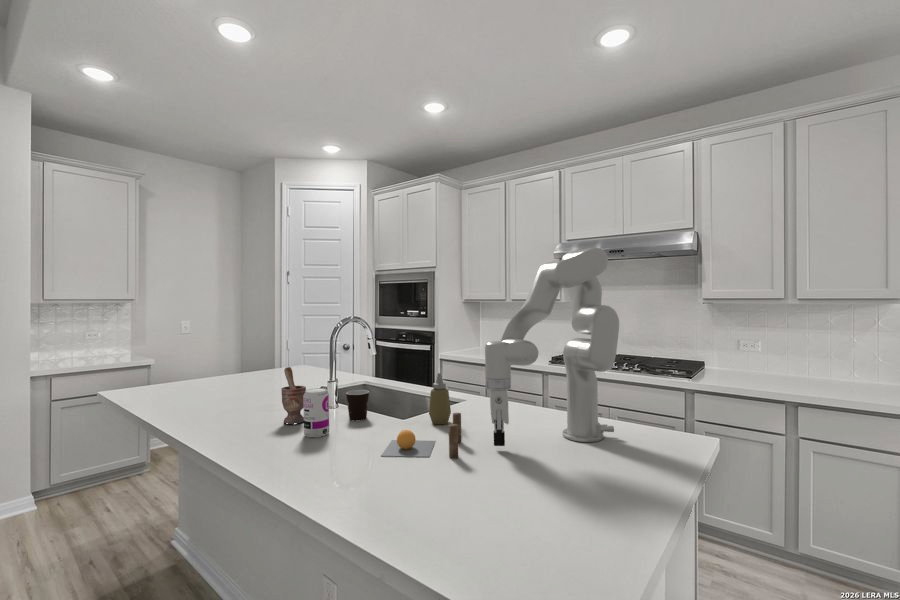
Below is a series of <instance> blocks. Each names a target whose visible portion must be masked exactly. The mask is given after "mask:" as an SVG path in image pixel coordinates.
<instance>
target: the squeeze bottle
mask: <svg viewBox="0 0 900 600" xmlns="http://www.w3.org/2000/svg"><path fill="white" fill-rule="evenodd" d="M428 409H429V410H428V414H429V418H430V421H431V423H432V424H435V425H445V424H448V423H449V420H450V416H451V413H452V410H451V409H452V408H451V403H450V392H449V389H448V388H447V383H446V382H444V380H443V376H442V373H441V372H439V373H438V372H437V376H436V380H435V382H434V383H433V384H432V389H431V390H430V395H429V408H428Z"/></svg>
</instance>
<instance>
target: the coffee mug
mask: <svg viewBox="0 0 900 600" xmlns="http://www.w3.org/2000/svg"><path fill="white" fill-rule="evenodd" d="M345 395H346V404H347V409H348V418H349V421H352V420H354V421H353V422H357V421H356V420H360V421H364V420H366V419H367V416H368V406H369V397H370V391H369V390H366V389H356V390H349V391H347V392H346V393H345ZM363 419H364V420H363Z"/></svg>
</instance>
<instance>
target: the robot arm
mask: <svg viewBox="0 0 900 600" xmlns="http://www.w3.org/2000/svg"><path fill="white" fill-rule="evenodd" d="M608 266H609V257H608V254H607V253H606V251H605V250H603V249H602V248H601V247H589V248H588V247H587V248H582V249H575V250H572V251H569V252H567V253H565V254H564V255H562V258H561V259H560V260H555V261H549V262H545V263H543V264H542V265H540V267H539V268H538V270H537V273H536V275H535V277H534V280H533V282H532V284H531V286H530V289H529V292H528V294H527V296H526V299H525V301H524V303H523V305H522V306H521V308H520V309H518V311H517V312H516V313H515V314H514V316H513V317H512V318H511V319H510V321H509V322H508V323H507V325H506V326H505V329H504V331H503V334H502V336H501V339H500V340H493V341H487V342H486V344H485V346H484V358H485V359H484V361H485V364H484V368H485V373H484V374H485V389H486V390H489V407H490V417H491V423H492V424H493V425H494V429H493V445H494V447H505V445H506V443H505V442H506V439H505V437H506V434H505V428H504V427H505V425H504V424H506V425H509V424H510V423H509V419H510V418H509V417H510V416H509V415H510V414H509V392H508V390H511V389H512V370H511V369H512V366H513V365H514V366H522V367H523V366H525V367H526V366H530V365H533V364H534V363H535V362H536V361H537V360H538V357H539V349H538V347H537V345H536V344H535V343H533V342H531V341H530V340H526V339H525V337H526V335H527V334H528V333H529V331H530V330H531V328H533V327H534V326H535V325H537V324H538V323H541V322H542V321H543V320H546V319H547V318H548V317H549V316H550V315H551V314H552V311H553V308H554V306H555V304H556V300H557V297H558V296H559V293H560V291H561V289H570V288H574V289H573V290H574V297H573V306H572V311H571V313H572V315H571V326H572V329H573V330H574V331H575V332H576V333H578V334H581V335H587V336H588V335H589V336H590V338H581V337H576V338H572V339H570V340H568V341H567V342H566V343H565V345H564V347H563V351H562V355H563V356H562V357H563V364H564V365H565V375H566V412H567V413H566V415H567V416H566V418H567V419H566V423H567V426H566V428H564V429H563V430H562V436H563V438H565V439H567V440H570V441H573V442H580V443H594V442H600V441H602V440H603V439H604V433H606V432H607V433H614V432H615V429H614V428H615V426H613V425H608V424H601V423H600V422H599V405H598V404H599V403H598V402H599V401H598V400H599V399H598V396H599V395H598V390H599V389H598V387H599V386H598V385H599V384H598V378H597V374H596V372H599V373H601V372H602V373H603V372H607V371H609V370H610V369H611V368H613V366H614V364H615V360H616V357H617V352H618V351H617V350H618V349H617V348H618V340H619V332H620V319H619V315H618V313H617V311H616V310H615V309H614V308H613V307H611V306H609V305H606V304H605V305H604V304H603V305H602V295H603V292H602V291H603V289H602V285H601V282H600V280H599V278H598V276H600V275H602V274H603V273H604V272H605V271H606V270H607V268H608Z"/></svg>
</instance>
